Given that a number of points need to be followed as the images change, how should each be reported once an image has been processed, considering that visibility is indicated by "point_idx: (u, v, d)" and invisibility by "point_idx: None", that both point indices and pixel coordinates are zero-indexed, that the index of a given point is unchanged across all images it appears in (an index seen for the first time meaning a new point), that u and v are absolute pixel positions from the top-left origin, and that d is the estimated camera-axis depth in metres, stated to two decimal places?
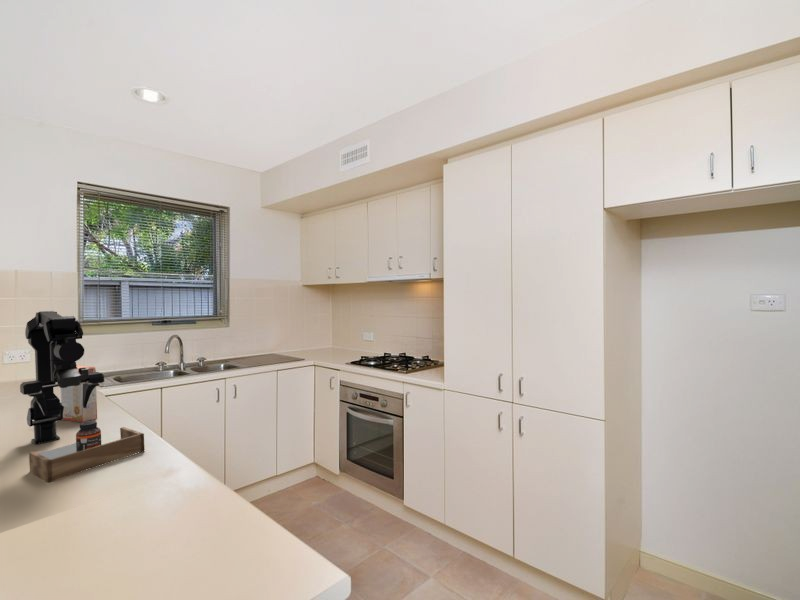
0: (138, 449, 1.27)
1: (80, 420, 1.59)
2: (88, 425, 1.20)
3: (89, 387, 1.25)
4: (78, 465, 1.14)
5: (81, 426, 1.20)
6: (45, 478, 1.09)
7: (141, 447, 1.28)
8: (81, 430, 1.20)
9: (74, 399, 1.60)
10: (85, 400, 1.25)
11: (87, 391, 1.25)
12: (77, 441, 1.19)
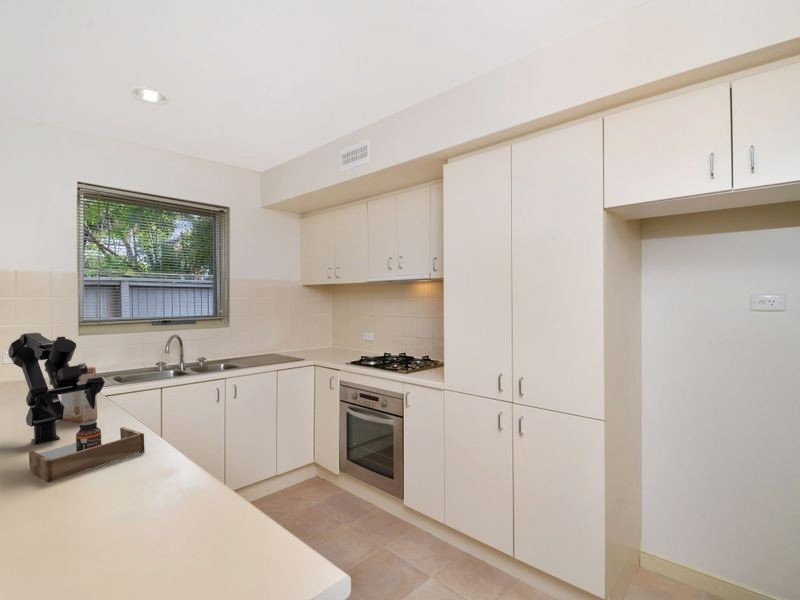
0: (138, 449, 1.27)
1: (80, 420, 1.59)
2: (88, 425, 1.20)
3: (92, 386, 1.32)
4: (78, 465, 1.14)
5: (81, 426, 1.20)
6: (45, 478, 1.09)
7: (141, 447, 1.28)
8: (81, 430, 1.20)
9: (74, 399, 1.60)
10: (92, 400, 1.30)
11: (91, 392, 1.32)
12: (77, 441, 1.19)
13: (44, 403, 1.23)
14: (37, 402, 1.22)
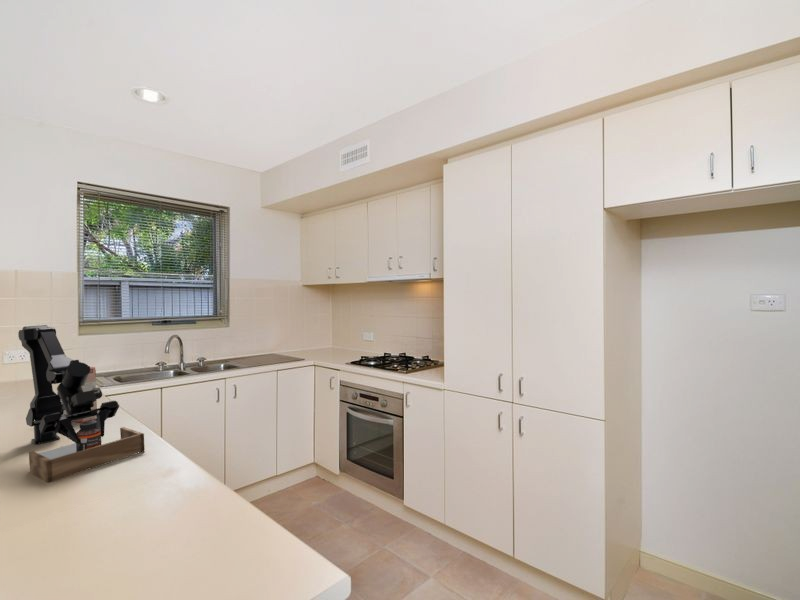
0: (138, 449, 1.27)
1: (80, 420, 1.59)
2: (88, 425, 1.20)
3: (101, 413, 1.26)
4: (78, 465, 1.14)
5: (81, 426, 1.20)
6: (45, 478, 1.09)
7: (141, 447, 1.28)
8: (81, 430, 1.20)
9: None
10: (101, 427, 1.24)
11: (100, 418, 1.26)
12: None
13: (64, 429, 1.20)
14: (57, 428, 1.19)
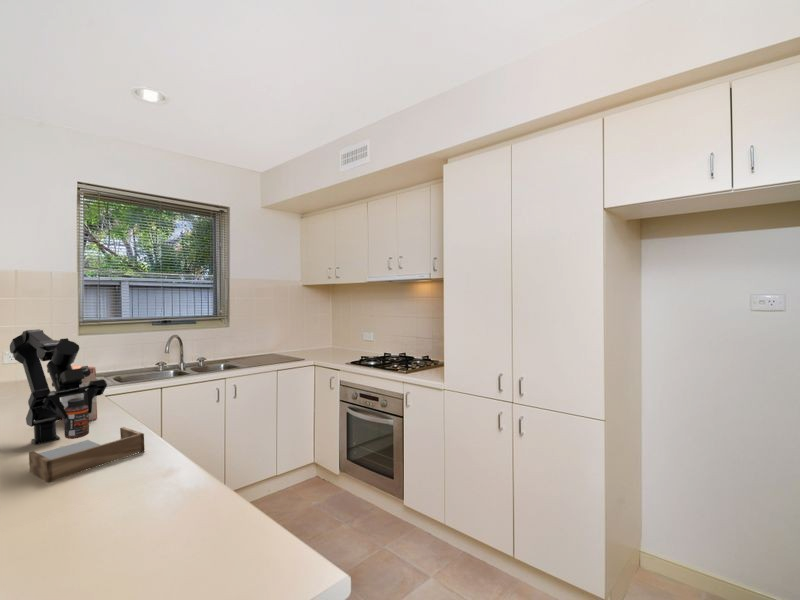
0: (138, 449, 1.27)
1: None
2: (76, 402, 1.24)
3: (89, 390, 1.30)
4: (78, 465, 1.14)
5: (69, 402, 1.24)
6: (45, 478, 1.09)
7: (141, 447, 1.28)
8: (69, 406, 1.24)
9: None
10: (89, 404, 1.28)
11: (88, 396, 1.30)
12: None
13: (52, 405, 1.24)
14: (45, 404, 1.22)
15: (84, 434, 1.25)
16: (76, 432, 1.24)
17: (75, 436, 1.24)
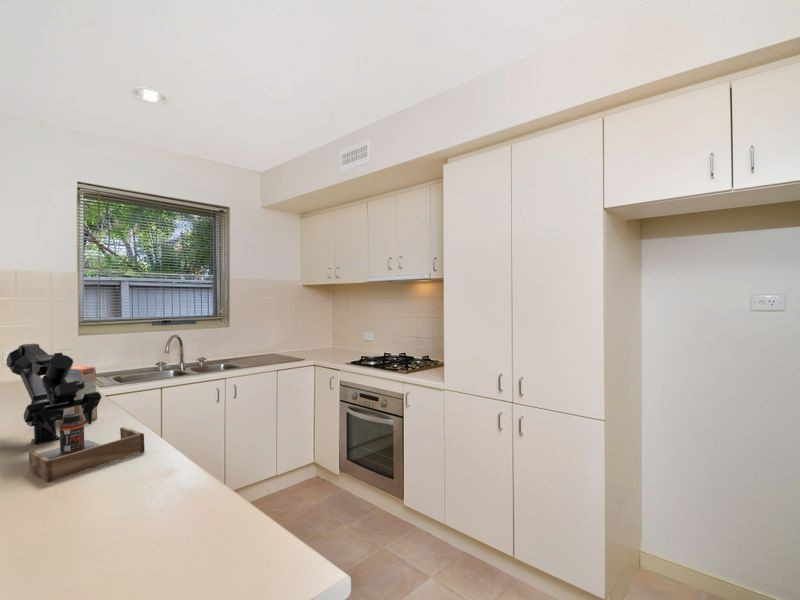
0: (138, 449, 1.27)
1: None
2: (71, 417, 1.27)
3: (89, 402, 1.34)
4: (78, 465, 1.14)
5: (64, 418, 1.27)
6: (45, 478, 1.09)
7: (141, 447, 1.28)
8: (64, 422, 1.27)
9: (74, 399, 1.60)
10: (89, 415, 1.32)
11: (88, 407, 1.33)
12: (60, 432, 1.26)
13: (41, 419, 1.25)
14: (34, 418, 1.24)
15: (79, 449, 1.28)
16: (71, 447, 1.26)
17: (70, 451, 1.26)
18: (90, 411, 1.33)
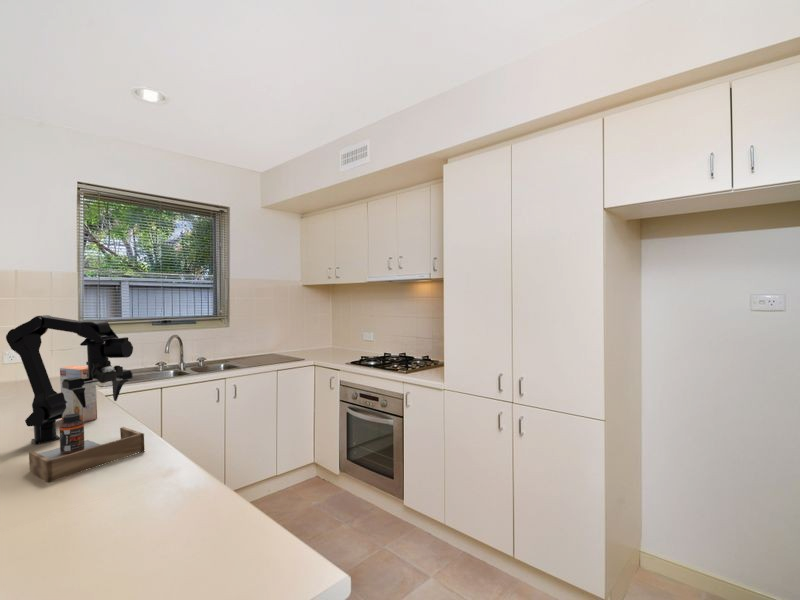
0: (138, 449, 1.27)
1: None
2: (71, 417, 1.27)
3: (120, 382, 1.43)
4: (78, 465, 1.14)
5: (64, 418, 1.27)
6: (45, 478, 1.09)
7: (141, 447, 1.28)
8: (64, 422, 1.27)
9: (74, 399, 1.60)
10: (116, 394, 1.44)
11: (118, 386, 1.44)
12: (60, 432, 1.26)
13: None
14: None
15: (79, 449, 1.28)
16: (71, 447, 1.26)
17: (70, 451, 1.26)
18: (119, 390, 1.44)
